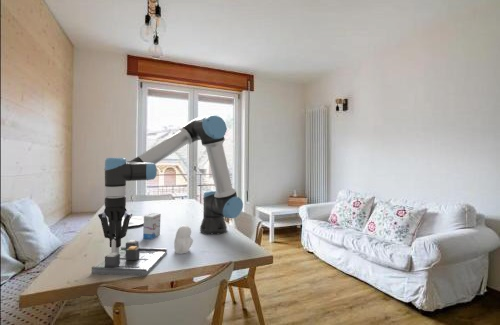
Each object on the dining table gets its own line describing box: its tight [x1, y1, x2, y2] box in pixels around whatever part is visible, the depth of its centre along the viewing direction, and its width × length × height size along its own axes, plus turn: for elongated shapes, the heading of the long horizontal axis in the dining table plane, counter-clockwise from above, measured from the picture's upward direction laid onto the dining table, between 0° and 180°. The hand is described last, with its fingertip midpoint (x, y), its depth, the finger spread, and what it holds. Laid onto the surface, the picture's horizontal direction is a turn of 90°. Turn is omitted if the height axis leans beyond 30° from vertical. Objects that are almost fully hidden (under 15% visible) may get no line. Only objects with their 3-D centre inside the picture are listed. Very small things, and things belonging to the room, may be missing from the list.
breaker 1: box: [104, 251, 120, 267], centre depth 98 cm, size 4×3×5 cm
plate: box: [108, 215, 144, 229], centre depth 164 cm, size 25×25×2 cm
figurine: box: [173, 224, 194, 255], centre depth 119 cm, size 7×8×12 cm
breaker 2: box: [125, 239, 139, 249], centre depth 113 cm, size 4×3×5 cm
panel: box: [91, 246, 168, 277], centre depth 106 cm, size 20×21×2 cm
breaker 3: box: [126, 246, 140, 260], centre depth 106 cm, size 4×3×5 cm
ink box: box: [142, 212, 162, 240], centre depth 139 cm, size 9×5×12 cm, turn 168°
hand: (115, 255), depth 106 cm, fingers closed
